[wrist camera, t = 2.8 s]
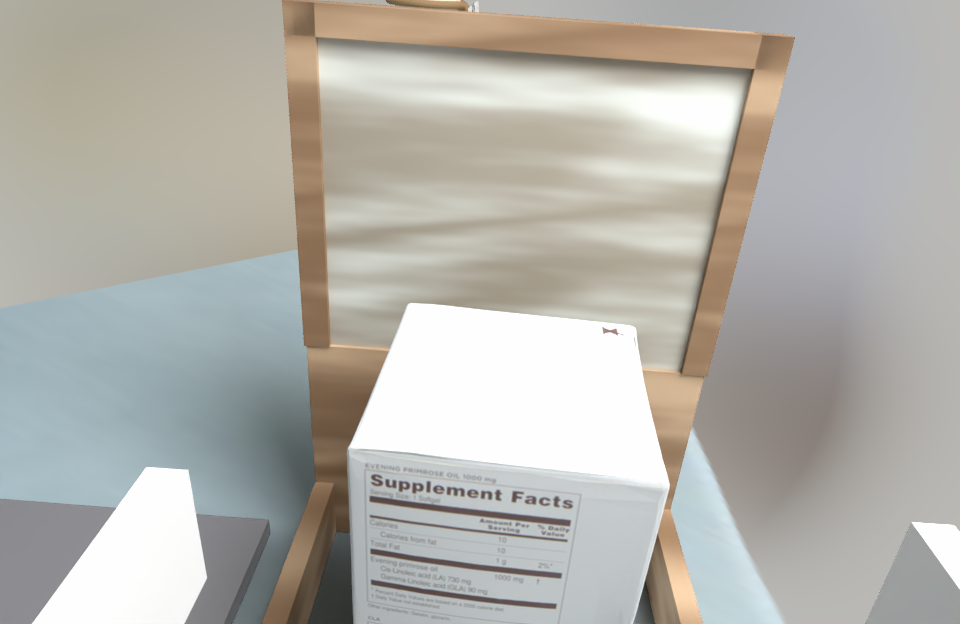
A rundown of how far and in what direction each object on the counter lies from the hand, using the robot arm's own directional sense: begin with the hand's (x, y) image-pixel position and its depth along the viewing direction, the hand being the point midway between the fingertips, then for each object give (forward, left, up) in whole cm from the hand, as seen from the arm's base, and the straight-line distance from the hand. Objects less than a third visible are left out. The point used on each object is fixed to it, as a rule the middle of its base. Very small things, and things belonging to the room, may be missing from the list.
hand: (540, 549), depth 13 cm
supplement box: (+5, +9, -19) cm, 22 cm away
